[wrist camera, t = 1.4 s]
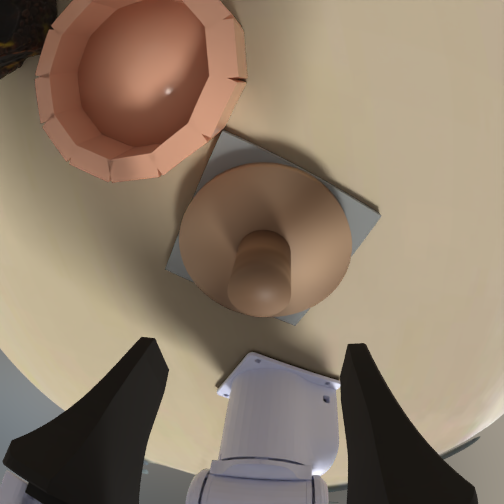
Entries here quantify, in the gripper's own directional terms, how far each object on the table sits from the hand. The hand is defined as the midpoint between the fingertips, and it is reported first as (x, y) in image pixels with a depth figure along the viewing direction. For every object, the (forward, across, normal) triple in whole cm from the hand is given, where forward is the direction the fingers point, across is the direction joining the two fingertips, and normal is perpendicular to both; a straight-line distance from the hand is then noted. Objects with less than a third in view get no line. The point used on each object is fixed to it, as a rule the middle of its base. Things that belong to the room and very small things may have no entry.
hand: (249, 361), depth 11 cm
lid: (+9, 0, 0) cm, 9 cm away
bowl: (+9, +6, -11) cm, 15 cm away
